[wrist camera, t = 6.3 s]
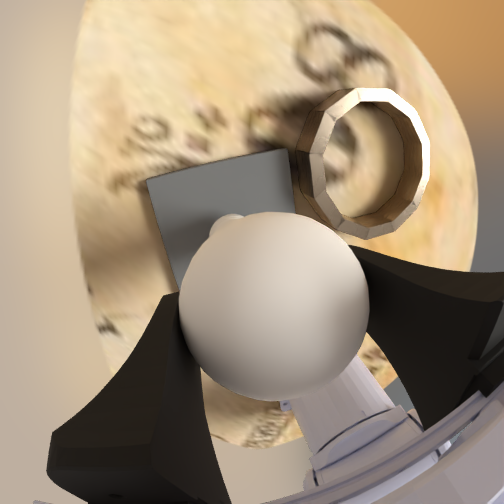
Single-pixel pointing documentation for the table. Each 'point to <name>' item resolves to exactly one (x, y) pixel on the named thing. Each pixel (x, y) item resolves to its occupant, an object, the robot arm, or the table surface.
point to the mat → (216, 199)
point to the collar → (412, 177)
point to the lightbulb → (273, 305)
